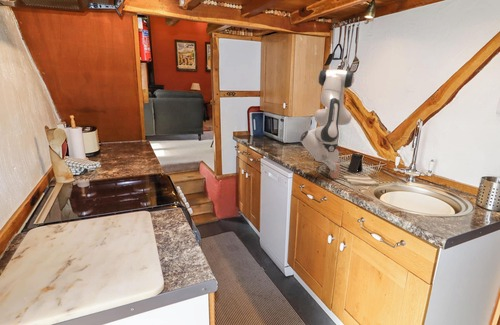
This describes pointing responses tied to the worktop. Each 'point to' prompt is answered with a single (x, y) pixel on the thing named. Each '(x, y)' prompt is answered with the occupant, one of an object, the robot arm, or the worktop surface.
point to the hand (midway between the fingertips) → (334, 169)
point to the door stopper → (355, 163)
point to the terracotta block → (335, 174)
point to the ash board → (360, 180)
